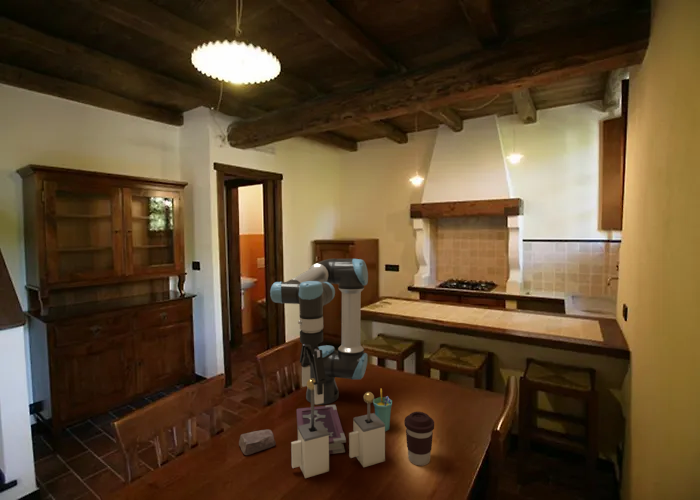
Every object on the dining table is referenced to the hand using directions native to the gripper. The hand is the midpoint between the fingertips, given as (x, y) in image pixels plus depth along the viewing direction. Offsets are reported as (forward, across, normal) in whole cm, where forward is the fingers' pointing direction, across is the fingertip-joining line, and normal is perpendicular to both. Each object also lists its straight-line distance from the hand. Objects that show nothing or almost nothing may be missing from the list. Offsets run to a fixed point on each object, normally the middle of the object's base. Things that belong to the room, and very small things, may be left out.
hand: (312, 394), depth 116 cm
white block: (+25, +3, +17) cm, 30 cm away
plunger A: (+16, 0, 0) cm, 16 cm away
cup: (+25, -10, +32) cm, 42 cm away
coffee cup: (+25, +11, +34) cm, 44 cm away
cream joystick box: (+25, 0, -2) cm, 25 cm away
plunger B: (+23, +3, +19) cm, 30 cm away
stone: (+25, -20, -15) cm, 35 cm away
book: (+25, -17, +8) cm, 32 cm away
